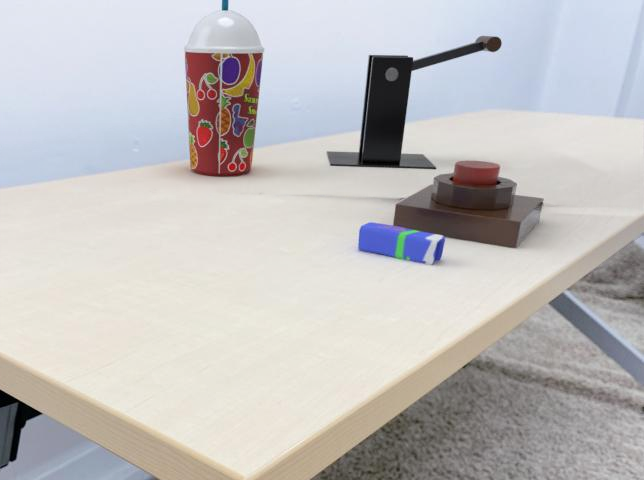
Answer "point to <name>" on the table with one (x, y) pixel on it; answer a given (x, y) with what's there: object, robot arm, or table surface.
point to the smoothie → (222, 92)
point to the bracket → (384, 118)
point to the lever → (460, 51)
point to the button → (476, 173)
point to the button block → (471, 211)
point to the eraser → (401, 242)
